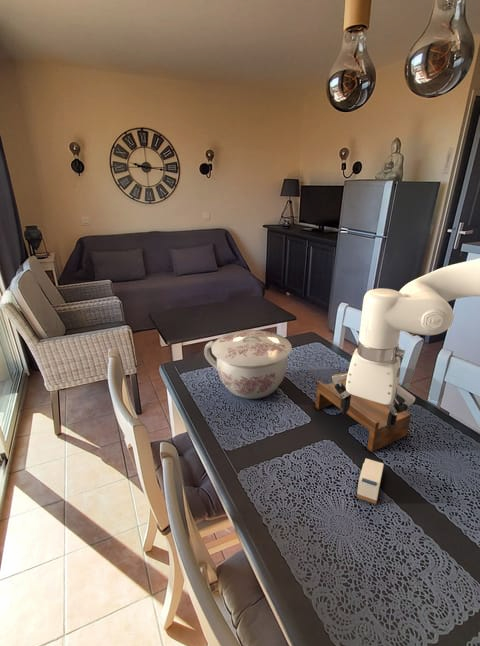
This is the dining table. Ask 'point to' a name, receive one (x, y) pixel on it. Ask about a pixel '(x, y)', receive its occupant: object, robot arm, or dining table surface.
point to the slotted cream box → (370, 480)
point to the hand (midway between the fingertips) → (366, 418)
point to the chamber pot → (250, 361)
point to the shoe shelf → (366, 415)
